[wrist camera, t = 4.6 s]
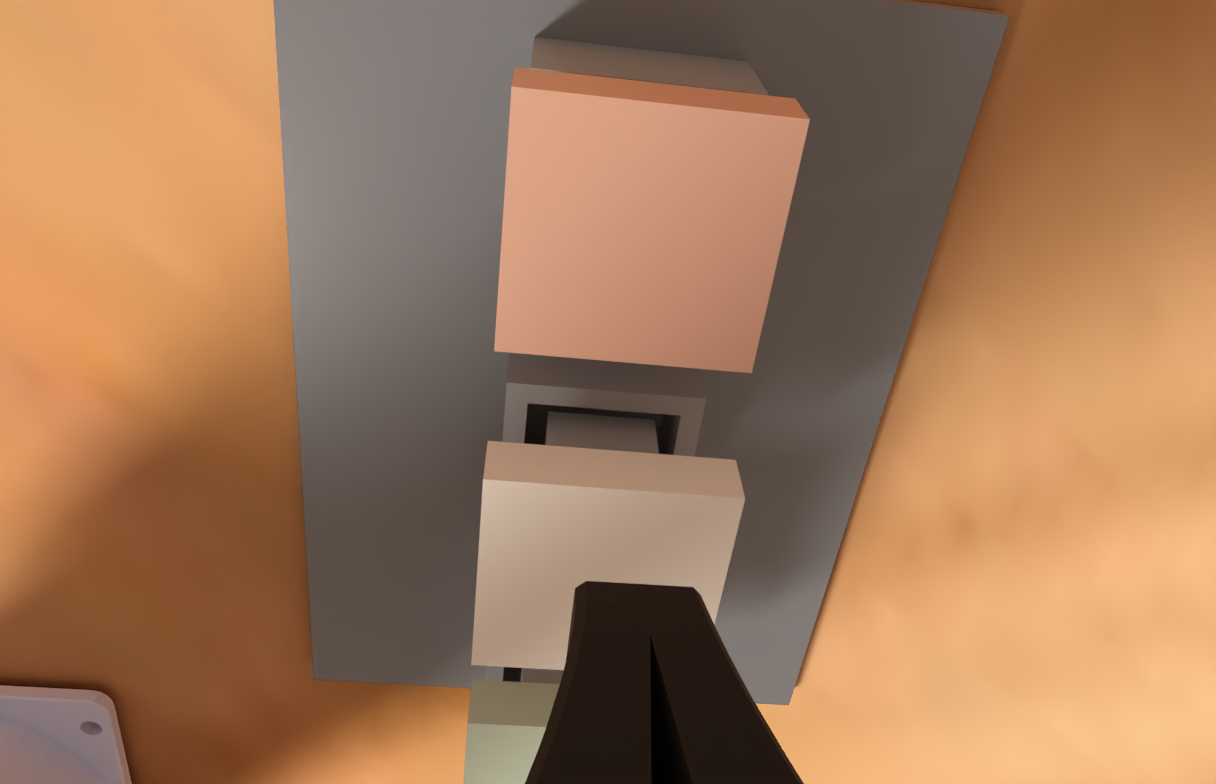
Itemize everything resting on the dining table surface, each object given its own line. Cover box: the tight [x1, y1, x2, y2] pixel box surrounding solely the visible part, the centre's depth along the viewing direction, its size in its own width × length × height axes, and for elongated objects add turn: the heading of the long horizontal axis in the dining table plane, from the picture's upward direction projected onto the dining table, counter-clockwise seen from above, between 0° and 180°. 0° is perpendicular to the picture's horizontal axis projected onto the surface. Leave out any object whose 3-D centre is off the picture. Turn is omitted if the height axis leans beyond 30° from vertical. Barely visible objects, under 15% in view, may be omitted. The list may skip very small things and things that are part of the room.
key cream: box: [471, 411, 745, 670], centre depth 17 cm, size 4×4×4 cm
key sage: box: [464, 668, 564, 784], centre depth 20 cm, size 4×4×4 cm
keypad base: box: [274, 0, 1010, 705], centre depth 19 cm, size 17×12×2 cm
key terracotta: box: [494, 67, 810, 373], centre depth 15 cm, size 4×4×4 cm
